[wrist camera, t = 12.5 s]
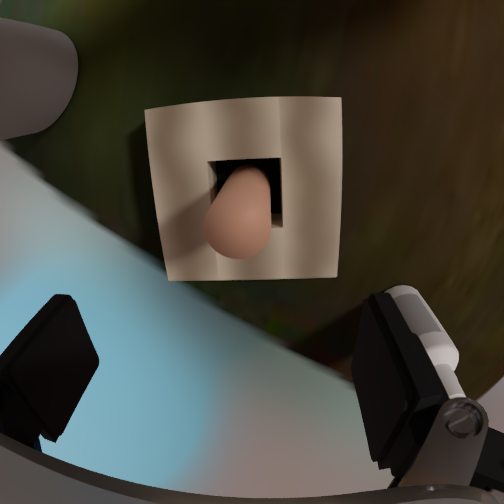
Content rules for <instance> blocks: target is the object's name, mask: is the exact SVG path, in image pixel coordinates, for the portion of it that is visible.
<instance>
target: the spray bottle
mask: <svg viewBox="0 0 504 504" xmlns="http://www.w3.org/2000/svg"><path fill="white" fill-rule="evenodd" d="M387 292H388V293H390V294H391V296H392V298H393V299H394V301H395V303H396V305H397V306H398V308H399V310H400V312H401V313H402V315H403V317H404V319H405V321H406V322H407V324H408V326H409V328H410V330H411V332H412V333H415V334H417V336H418V337H419V338H420V340H421V342H422V344H423V346H424V348H425V350H426V352H427V353H428V355H429V357H430V359H431V361H432V363H433V365H434V367H435V369H436V371H437V373H438V375H439V377H440V379H441V381H442V383H443V385H444V387H445V389H446V391H447V394H448V396H449V398H450V399H453V398H455V397H466V396H465V394H464V392H463V390H462V388H461V387H460V385H459V383H458V379H457V377H456V375H455V373H454V370H455V369H456V366H457V363H458V361H459V353H458V350H457V349H456V347H455V345H454V344H453V342H452V341H451V339H450V338H449V336H448V334H447V333H446V331H445V330H444V328H443V327H442V325H441V324H440V322H439V321H438V319H437V318H436V316H435V315H434V314H433V312H432V311H431V309H430V308H429V306H428V305H427V303H426V302H425V301H424V299H423V298H422V296H421V295H420V294H419V292H418V291H417V290H416V289H414V288H413V287H411V286H405V285H400V286H395V287H392V288H390V289H388V290H386V291H385V292H384V293H387Z"/></svg>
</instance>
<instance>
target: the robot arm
mask: <svg viewBox="0 0 504 504" xmlns="http://www.w3.org/2000/svg"><path fill="white" fill-rule="evenodd" d="M98 366H99V357H98V355H97V353H96V351H95V348H94V346H93V343H92V341H91V339H90V336H89V334H88V332H87V329H86V327H85V324H84V322H83V319H82V317H81V314H80V312H79V309H78V306H77V304H76V302H75V300H73V299H72V297H71V296H70V295H64V294H55V295H54V296H53V297H52V298H51V299H50V300H49V301H48V302H47V303H46V304H45V305H44V306H43V307H42V308H41V309H40V310H39V311H38V313H37V314H36V315H35V316H34V317H33V318H32V319H31V320H30V321H29V323H28V324H27V325H26V326H25V327H24V328H23V329H22V330H21V332H20V333H19V334H18V335H17V336H16V337H15V339H14V340H13V341H12V342H11V343H10V344H9V346H8V347H7V348H6V349H5V351H4V352H3V353H2V354H1V355H0V504H504V433H501V432H499V431H497V430H495V429H492V428H490V427H488V422H489V421H488V416H487V413H486V411H485V410H484V408H483V407H482V406H481V405H480V404H479V403H478V402H476V401H474V400H472V399H470V398H466V397H455V398H453V399H450V398H449V396H448V394H447V391H446V389H445V387H444V385H443V383H442V381H441V379H440V377H439V375H438V373H437V371H436V369H435V367H434V365H433V363H432V361H431V359H430V357H429V355H428V353H427V352H426V350H425V348H424V346H423V344H422V342H421V340H420V338H419V337H418V336H417V334H415V333H412V332H411V330H410V328H409V326H408V324H407V322H406V321H405V319H404V317H403V315H402V313H401V312H400V310H399V308H398V306H397V305H396V303H395V301H394V299H393V298H392V296H391V294H390V293H388V292H387V293H371V294H370V296H369V299H364V301H363V305H362V311H361V317H360V323H359V328H358V334H357V339H356V344H355V349H354V354H353V359H352V364H351V372H352V377H353V381H354V385H355V389H356V393H357V397H358V401H359V405H360V410H361V414H362V418H363V423H364V427H365V432H366V436H367V441H368V446H369V451H370V456H371V459H372V461H373V462H375V461H377V462H378V467H379V470H381V469H386V468H390V469H391V474H392V475H393V476H394V478H393V480H392V481H391V483H390V485H389V486H388V488H387V489H382V490H375V491H366V492H358V493H352V494H342V495H333V496H321V497H306V498H236V497H222V496H210V495H202V494H194V493H186V492H180V491H173V490H168V489H162V488H157V487H152V486H147V485H142V484H137V483H133V482H129V481H125V480H121V479H117V478H114V477H110V476H107V475H103V474H100V473H97V472H93V471H90V470H87V469H84V468H81V467H78V466H75V465H72V464H70V463H67V462H64V461H62V460H59V459H56V458H54V457H52V456H49V455H47V454H44V453H42V449H41V445H40V440H39V435H40V434H41V435H42V436H43V437H44V438H45V439H47V440H50V441H52V442H55V443H56V441H57V439H58V437H59V436H60V435H62V433H63V432H64V430H65V428H66V426H67V424H68V422H69V420H70V418H71V416H72V414H73V412H74V410H75V408H76V406H77V404H78V403H79V401H80V399H81V397H82V395H83V393H84V391H85V389H86V388H87V386H88V384H89V382H90V380H91V379H92V377H93V375H94V373H95V371H96V370H97V368H98Z"/></svg>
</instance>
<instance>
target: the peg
mask: <svg viewBox="0 0 504 504" xmlns="http://www.w3.org/2000/svg"><path fill="white" fill-rule="evenodd" d="M203 229H204V234H205V237H206V240H207V242H208V243H209V245H210V246H211V247H212V248H213V249H214V250H215V251H216V252H217V253H219V254H221V255H222V256H225V257H228V258H231V259H245V258H249V257H252V256H254V255H256V254H257V253H259V252H260V251H261V250H262V249H263V248H264V247H265V246H266V244H267V243H268V241H269V238H270V235H271V199H270V180H269V177H268V175H267V173H266V172H265V171H264V170H263V169H262V168H260V167H259V166H256V165H253V164H244V165H241V166H239V167H237V168H236V169H235V170H233V172H232V173H231V174H230V176H229V178H228V179H227V181H226V182H225V184H224V185H223V187H222V188H221V190H220V192H219V193H218V195H217V196H216V198H215V200H214V201H213V203H212V204H211V206H210V208H209V209H208V211H207V213H206V215H205V218H204V224H203Z"/></svg>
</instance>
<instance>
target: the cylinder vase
mask: <svg viewBox="0 0 504 504" xmlns="http://www.w3.org/2000/svg"><path fill="white" fill-rule="evenodd" d="M77 75H78V57H77V52H76V49H75V46H74V44H73V43H72V41H71V40H70V38H69V37H68V36H67V35H65V34H64V33H62V32H60V31H57V30H53V29H50V28H46V27H42V26H38V25H33V24H29V23H24V22H20V21H15V20H10V19H4V18H0V141H1V140H5V139H9V138H14V137H18V136H23V135H28V134H33V133H37V132H40V131H42V130H44V129H46V128H48V127H49V126H50V125H52V124H53V123H54V122H55V121H56V120H57V119H58V118H59V117H60V115H61V114H62V113H63V111H64V110H65V108H66V107H67V105H68V103H69V101H70V99H71V97H72V94H73V92H74V89H75V85H76V81H77Z"/></svg>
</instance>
